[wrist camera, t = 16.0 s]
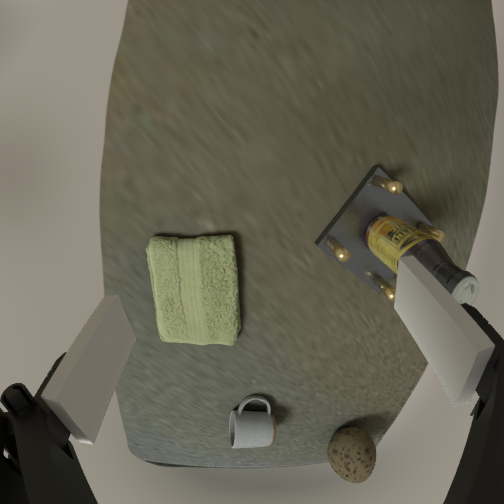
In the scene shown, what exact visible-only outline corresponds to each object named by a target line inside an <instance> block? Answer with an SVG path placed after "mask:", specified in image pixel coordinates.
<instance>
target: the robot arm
mask: <svg viewBox="0 0 504 504" xmlns="http://www.w3.org/2000/svg"><path fill="white" fill-rule="evenodd" d="M394 308H395V310H396V311H397V313H398V314H399V316H400V317H401V319H402V320H403V322H404V324H405V325H406V327H407V328H408V330H409V332H410V333H411V335H412V336H413V338H414V340H415V341H416V343H417V344H418V346H419V348H420V349H421V351H422V353H423V354H424V356H425V358H426V359H427V361H428V363H429V364H430V366H431V368H432V369H433V371H434V373H435V375H436V376H437V378H438V380H439V382H440V383H441V385H442V387H443V389H444V390H445V392H446V394H447V396H448V398H449V399H450V402H451V403H452V405H453V407H454V408H455V407H457V406H460V405H462V404H465V403H467V402H469V401H471V399H472V397H473V395H474V393H475V391H476V392H477V393H478V395H479V397H480V398H479V400H478V401H477V403H476V405H475V407H474V409H473V411H472V413H471V414H470V415H471V416H473V414H474V417H473V421H472V425H471V428H470V432H469V435H468V439H467V442H466V445H465V448H464V451H463V455H462V457H461V460H460V463H459V466H458V469H457V472H456V474H455V477H454V479H453V482H452V484H451V487H450V489H449V491H448V494H447V497H446V499H445V501H444V503H443V504H504V340H503V339H502V337H501V336H500V335H499V334H498V333H497V332H496V331H495V329H494V328H493V327H492V326H491V325H490V324H488V321H487V320H486V319H485V318H483V316H482V315H481V314H480V313H479V311H478V310H477V309H476V308H474V307H472V306H471V305H469V304H467V303H463V304H459V303H458V302H457V301H456V299H455V298H454V297H453V296H452V295H451V294H450V293H449V292H448V291H447V290H446V289H445V288H444V287H443V286H442V284H441V283H440V282H439V281H438V280H437V279H436V278H435V277H434V276H433V275H432V274H431V273H430V272H429V271H428V270H427V269H426V268H425V267H424V266H423V265H422V264H421V263H420V262H419V261H418V260H417V259H416V258H415V257H414V256H406V257H400V258H399V260H398V274H397V286H396V296H395V305H394ZM135 342H136V338H135V336H134V333H133V331H132V329H131V326H130V324H129V321H128V319H127V317H126V314H125V312H124V309H123V307H122V304H121V302H120V299H119V296H118V295H110V296H104V298H103V299H102V301H101V302H100V303H99V305H98V306H97V308H96V309H95V311H94V312H93V314H92V315H91V317H90V318H89V319H88V321H87V323H86V324H85V325H84V327H83V328H82V330H81V331H80V333H79V335H78V336H77V337H76V339H75V340H74V342H73V344H72V345H71V347H70V348H69V350H68V351H67V352H65V353H64V354H63V355H61V356H60V357H59V358H58V359H57V360H56V362H55V363H54V365H53V367H52V370H50V371H49V373H48V375H47V377H46V378H45V379H44V381H43V383H42V384H41V386H40V388H39V390H38V391H37V393H36V395H35V396H34V397H33V396H32V395H31V393H30V392H29V391H28V389H27V388H26V387H25V385H23V384H22V383H15V384H12V385H11V386H9V387H8V388H7V389H6V390H5V391H4V392H3V393H2V395H1V399H0V402H1V403H2V404H3V405H4V407H5V408H6V409H7V410H8V412H3V411H2V409H1V408H0V504H98V503H97V501H96V499H95V497H94V494H93V493H92V490H91V488H90V486H89V484H88V482H87V479H86V477H85V475H84V473H83V470H82V468H81V466H80V463H79V461H78V458H77V456H76V453H75V450H74V448H73V445H72V444H71V442H70V441H69V440H68V439H69V436H70V434H72V435H73V436H74V437H75V438H76V440H77V441H78V442H82V443H88V444H94V442H95V439H96V437H97V434H98V432H99V429H100V426H101V424H102V421H103V418H104V416H105V413H106V410H107V408H108V406H109V403H110V401H111V398H112V396H113V393H114V391H115V388H116V386H117V383H118V381H119V379H120V376H121V374H122V371H123V369H124V367H125V364H126V362H127V360H128V357H129V355H130V353H131V351H132V348H133V346H134V344H135ZM4 450H5V451H6V452H7V453H8V459H7V458H6V457H5V456H4V454H3V453H4Z"/></svg>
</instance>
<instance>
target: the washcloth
mask: <svg viewBox="0 0 504 504" xmlns="http://www.w3.org/2000/svg"><path fill="white" fill-rule="evenodd" d="M233 238H234V237H233V236H232V235H228V234H227V235H219V236H199V237H197V238H185V239H178V238H177V237H169V238H168V237H163V236H154V237H151V238H150V243H149V244H148V246H147V248H146V253H147V256H148V257H147V260H148V267H149V270H150V276H151V281H152V282H151V285H152V289H153V290H152V291H153V297H154V301H155V308H156V315H155V316H156V319H157V320H156V323H157V328H158V329H159V330H158V331H159V336H160V338H161V340H163V341H165V342H181V343H192V344H198V345H207V344H225V345H234V343H235V341H236V340H237V336H238V333H239V331H240V329H241V322H242V321H241V320H240V309H239V306H240V305H239V290H238V289H239V288H238V283H239V282H238V277H237V276H238V274H237V272H238V269H237V264H236V261H237V260H236V254H235V249H234V241H233Z"/></svg>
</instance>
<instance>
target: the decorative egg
mask: <svg viewBox="0 0 504 504" xmlns="http://www.w3.org/2000/svg"><path fill="white" fill-rule="evenodd" d="M327 454H328V460H329V462H330V464H331V466H332V468H333V469H334V471H335V472H336V473H337V474H338V475H339V476H340V477H342V478H343V479H345V480H346V481H349V482H352V483H361V482H363V481H365V480H366V479H367V478H368V477H369V476H370V475H371V473H372V471H373V469H374V466H375V462H376V448H375V444H374V441H373V439H372V437H371V436H370V435H369V434H368V433H367V432H366V431H364V430H363V429H360V428H357V427H346V428H343V429H341V430H339V431H338V432H337V433H335V434H334V435H333V437H332V438H331V440H330V442H329V445H328V450H327Z"/></svg>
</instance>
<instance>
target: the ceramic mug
mask: <svg viewBox="0 0 504 504" xmlns="http://www.w3.org/2000/svg"><path fill="white" fill-rule="evenodd" d="M254 399H257V400H260V401H262V402H264V403H266V404H267V412H253V411H242V409H243V407H244V406H245V405H246V404H247V403H248V402H250V401H251V400H254ZM270 412H271V408H270V405H269V403H268V401H267V400H266V399H265V398H264V397H262V396H257V395H252V396H249V397H247V398H245V399H244V400H243V401H242V402H241V404H240V406H239V408H238V410H233V411H232V412H231V414H230V420H229V437H230V444H231V447H232V448H251V447H265V446H269V445H272V444H273V443H274V441H275V438H276V421H275V418H274V416H273V415H272V414H271V413H270Z"/></svg>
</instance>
